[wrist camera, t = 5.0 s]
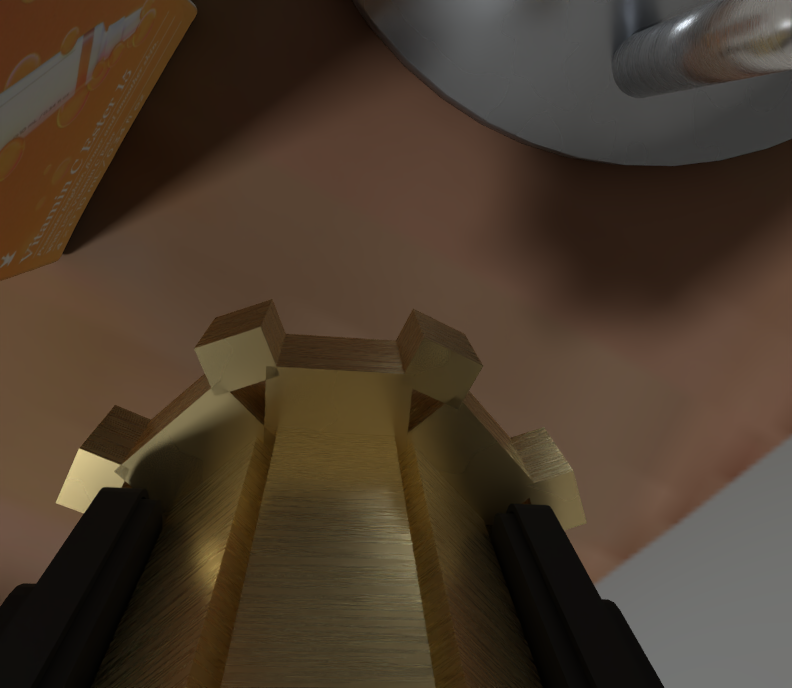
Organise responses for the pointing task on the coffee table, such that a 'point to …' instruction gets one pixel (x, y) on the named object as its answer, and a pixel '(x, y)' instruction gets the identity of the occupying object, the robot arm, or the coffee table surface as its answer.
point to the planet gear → (323, 515)
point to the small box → (70, 108)
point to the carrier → (605, 72)
